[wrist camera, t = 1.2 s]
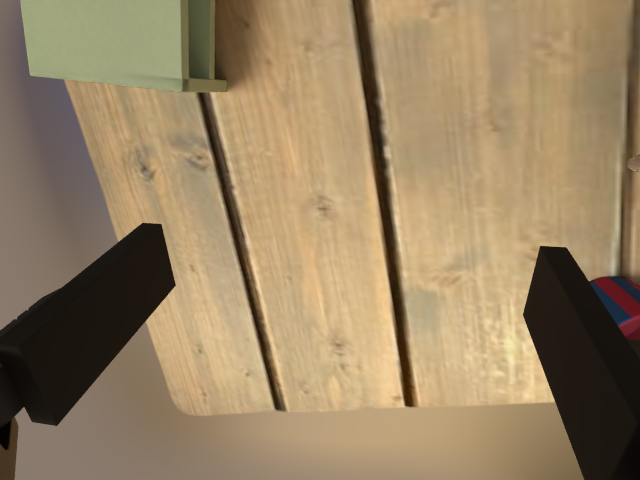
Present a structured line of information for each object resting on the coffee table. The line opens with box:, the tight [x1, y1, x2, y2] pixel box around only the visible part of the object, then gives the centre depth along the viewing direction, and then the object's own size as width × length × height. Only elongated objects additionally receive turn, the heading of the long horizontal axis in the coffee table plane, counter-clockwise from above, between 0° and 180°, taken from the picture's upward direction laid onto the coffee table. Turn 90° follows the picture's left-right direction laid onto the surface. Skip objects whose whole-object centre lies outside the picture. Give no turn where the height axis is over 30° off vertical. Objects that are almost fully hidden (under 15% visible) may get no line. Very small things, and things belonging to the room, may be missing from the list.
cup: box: [589, 277, 640, 340], centre depth 37 cm, size 7×10×7 cm
